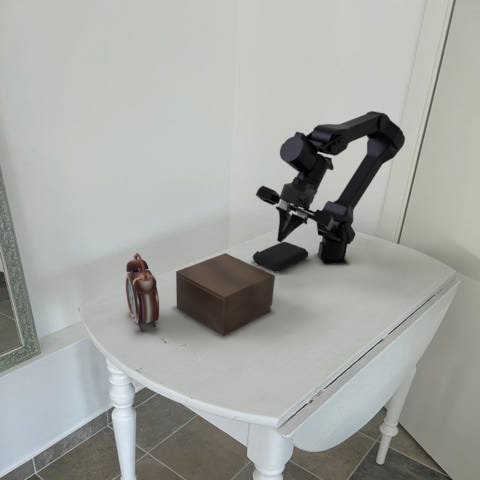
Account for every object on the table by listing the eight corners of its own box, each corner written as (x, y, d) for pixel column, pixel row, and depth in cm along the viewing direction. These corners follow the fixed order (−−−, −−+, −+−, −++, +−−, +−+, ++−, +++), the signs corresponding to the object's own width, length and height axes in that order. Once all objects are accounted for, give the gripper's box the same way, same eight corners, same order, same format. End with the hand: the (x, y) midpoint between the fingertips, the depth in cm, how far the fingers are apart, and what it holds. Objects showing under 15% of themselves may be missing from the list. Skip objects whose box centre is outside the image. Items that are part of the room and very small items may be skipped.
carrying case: (279, 247, 137) (246, 262, 127) (280, 237, 135) (246, 251, 126) (310, 259, 131) (278, 275, 122) (312, 248, 130) (279, 264, 120)
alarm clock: (126, 311, 103) (121, 246, 95) (149, 307, 105) (145, 244, 97) (138, 338, 95) (133, 269, 87) (162, 334, 96) (159, 266, 88)
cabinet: (224, 288, 114) (225, 252, 110) (270, 311, 106) (274, 275, 101) (176, 308, 105) (175, 271, 100) (223, 336, 97) (224, 297, 92)
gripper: (264, 154, 106) (234, 219, 108) (341, 186, 101) (308, 254, 103) (276, 168, 116) (248, 228, 119) (346, 198, 111) (316, 259, 114)
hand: (278, 241), depth 113 cm, fingers closed
